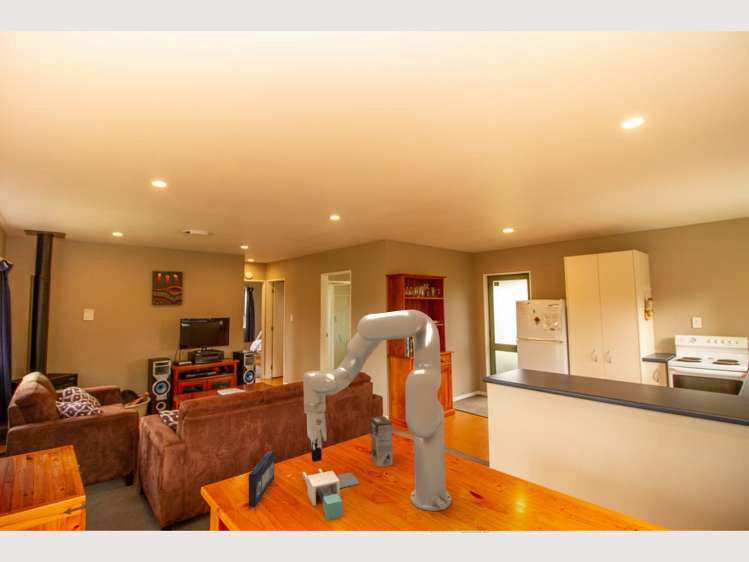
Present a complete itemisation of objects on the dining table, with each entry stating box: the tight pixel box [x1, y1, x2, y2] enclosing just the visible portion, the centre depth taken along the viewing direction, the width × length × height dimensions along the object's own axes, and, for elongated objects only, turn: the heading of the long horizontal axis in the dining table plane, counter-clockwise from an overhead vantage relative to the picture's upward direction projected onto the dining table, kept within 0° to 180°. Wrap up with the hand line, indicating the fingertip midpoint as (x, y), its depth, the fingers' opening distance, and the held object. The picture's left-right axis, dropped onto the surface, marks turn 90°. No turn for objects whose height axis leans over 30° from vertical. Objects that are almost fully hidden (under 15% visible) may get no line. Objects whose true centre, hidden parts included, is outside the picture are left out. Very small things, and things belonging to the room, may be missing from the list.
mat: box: [336, 472, 361, 489], centre depth 127 cm, size 9×9×1 cm
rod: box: [316, 485, 334, 505], centre depth 115 cm, size 14×3×4 cm, turn 23°
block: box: [322, 494, 343, 521], centre depth 107 cm, size 4×4×4 cm
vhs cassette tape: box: [247, 450, 275, 508], centre depth 121 cm, size 18×3×10 cm, turn 176°
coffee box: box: [369, 415, 394, 468], centre depth 143 cm, size 9×6×16 cm
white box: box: [302, 468, 341, 507], centre depth 122 cm, size 20×9×6 cm, turn 23°
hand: (316, 460), depth 126 cm, fingers closed
